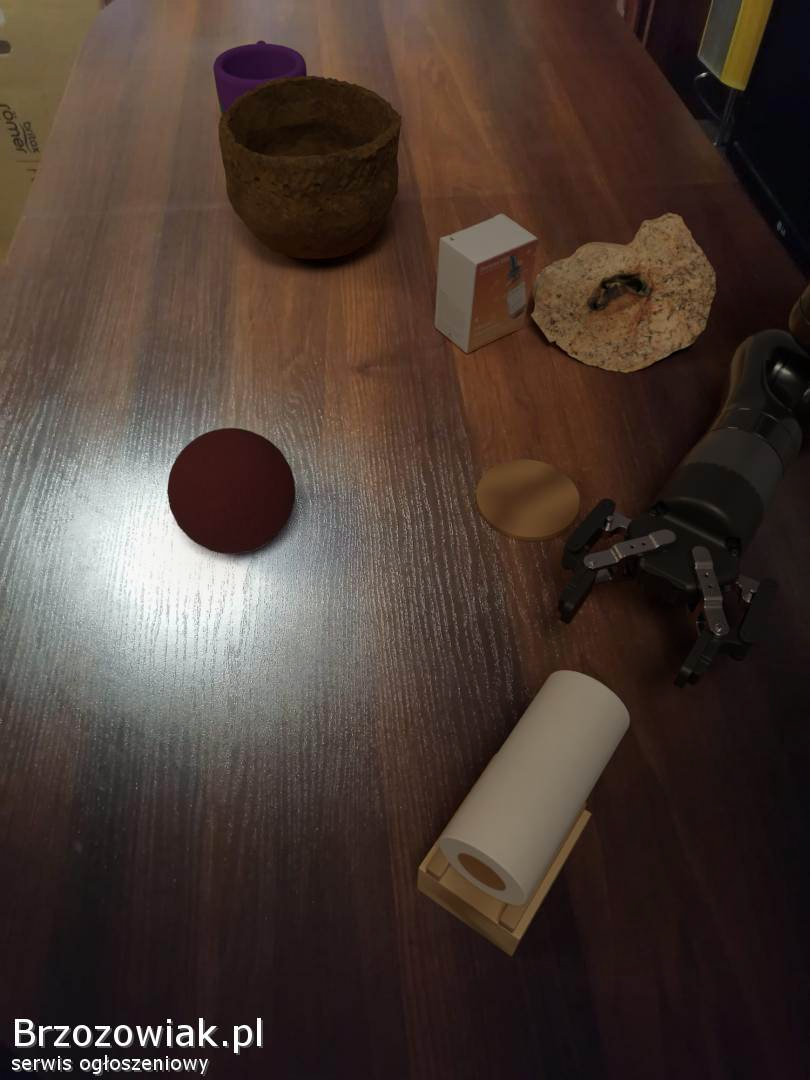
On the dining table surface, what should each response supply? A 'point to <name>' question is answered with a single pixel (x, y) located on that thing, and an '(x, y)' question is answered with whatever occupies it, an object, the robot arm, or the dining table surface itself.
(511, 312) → the small box
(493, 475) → the coaster
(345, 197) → the bowl
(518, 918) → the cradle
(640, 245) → the beige speckled lump
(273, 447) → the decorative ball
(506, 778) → the paper towel roll
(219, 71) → the mug
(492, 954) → the dining table surface
